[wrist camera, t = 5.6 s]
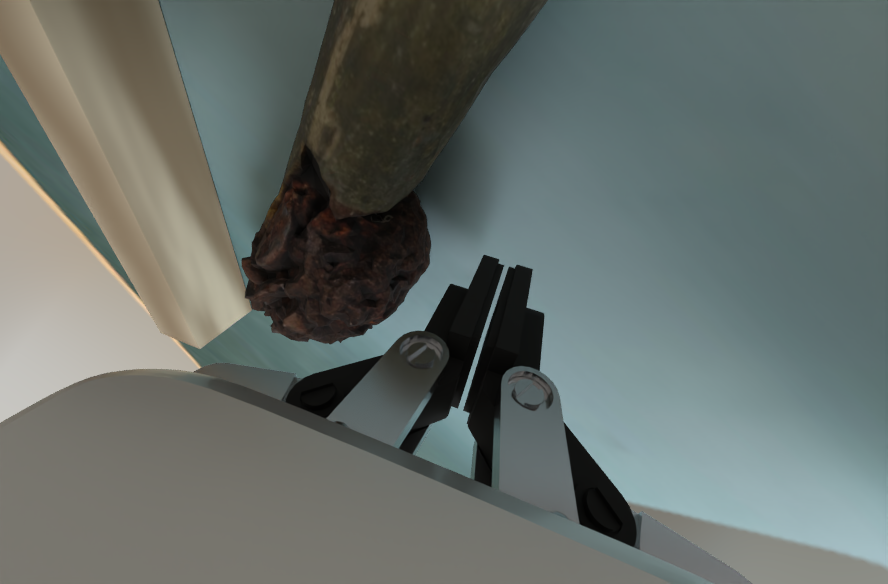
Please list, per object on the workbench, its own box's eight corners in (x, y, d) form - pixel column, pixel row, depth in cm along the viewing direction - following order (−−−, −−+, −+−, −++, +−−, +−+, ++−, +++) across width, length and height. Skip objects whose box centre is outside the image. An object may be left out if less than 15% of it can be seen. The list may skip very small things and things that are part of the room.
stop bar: (110, -158, 10) (-100, -263, 7) (251, 310, 22) (199, 348, 19) (41, -165, 10) (-184, -266, 7) (217, 297, 23) (161, 332, 19)
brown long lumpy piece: (461, -213, 7) (315, -628, 3) (654, -4, 8) (757, -90, 4) (284, 256, 18) (195, 315, 14) (377, 325, 19) (321, 400, 15)
